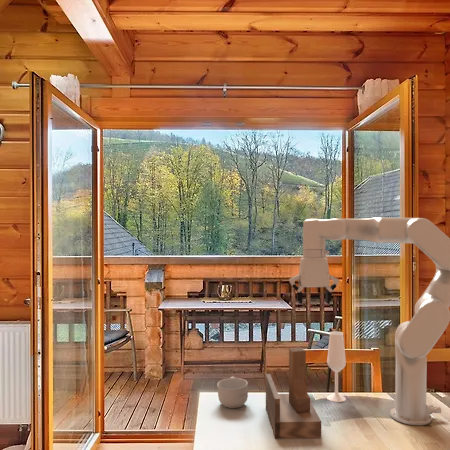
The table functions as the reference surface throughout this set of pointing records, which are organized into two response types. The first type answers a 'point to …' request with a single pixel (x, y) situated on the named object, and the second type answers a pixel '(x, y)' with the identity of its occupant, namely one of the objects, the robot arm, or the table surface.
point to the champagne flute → (336, 361)
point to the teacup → (232, 392)
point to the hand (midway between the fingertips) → (314, 303)
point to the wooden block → (298, 380)
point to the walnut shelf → (289, 416)
